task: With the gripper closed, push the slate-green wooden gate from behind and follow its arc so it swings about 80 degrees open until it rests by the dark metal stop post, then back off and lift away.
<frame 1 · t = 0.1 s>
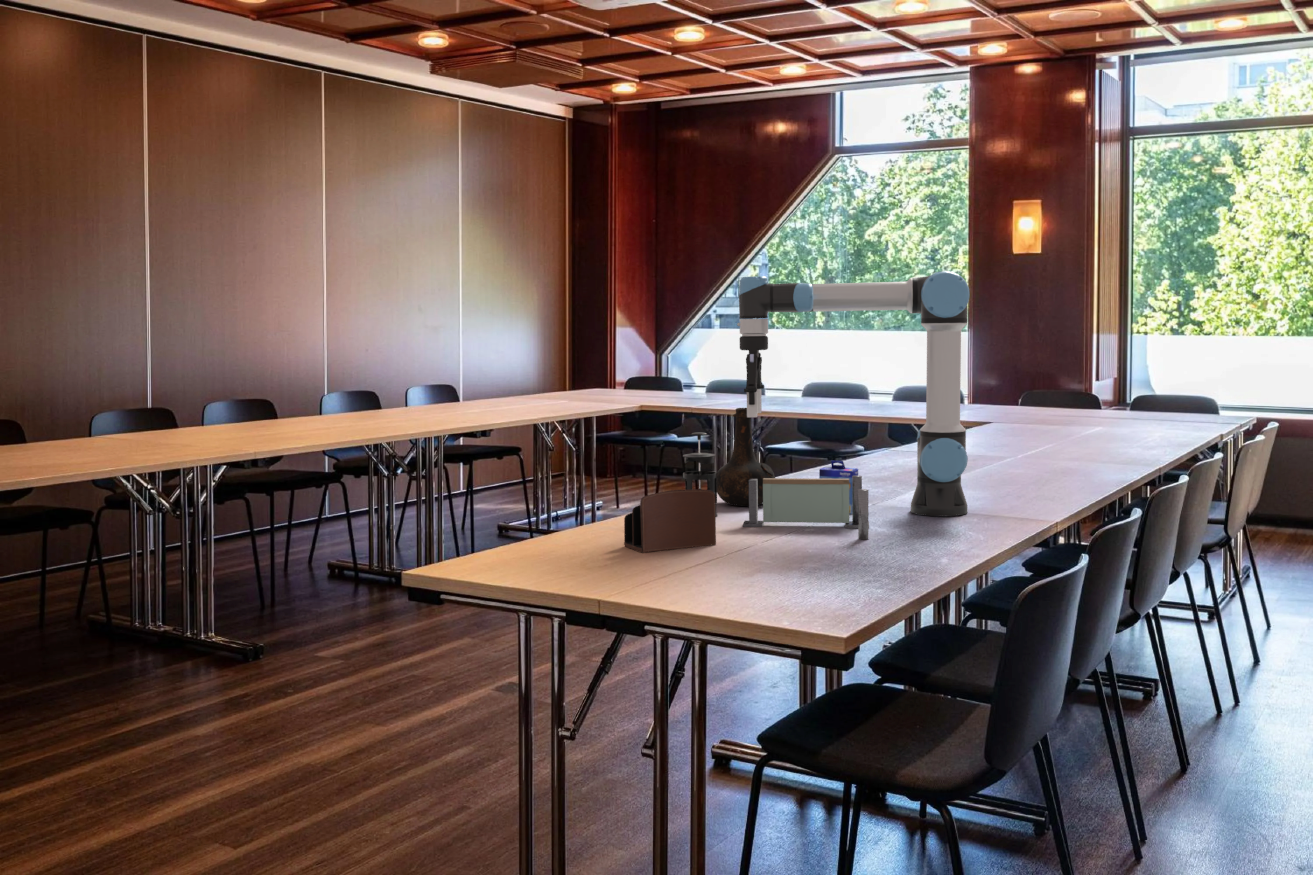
hand: (754, 415, 330), 28 cm above the table, fingers open, 13 cm apart
dark brown vase: (745, 505, 358), on the table
ink cartridge box: (838, 512, 341), on the table
gate: (806, 500, 319), point 7 cm above the table, hinge at 0.0°
letter holder: (670, 547, 295), on the table
french press: (701, 516, 338), on the table
gate frame: (857, 526, 318), on the table
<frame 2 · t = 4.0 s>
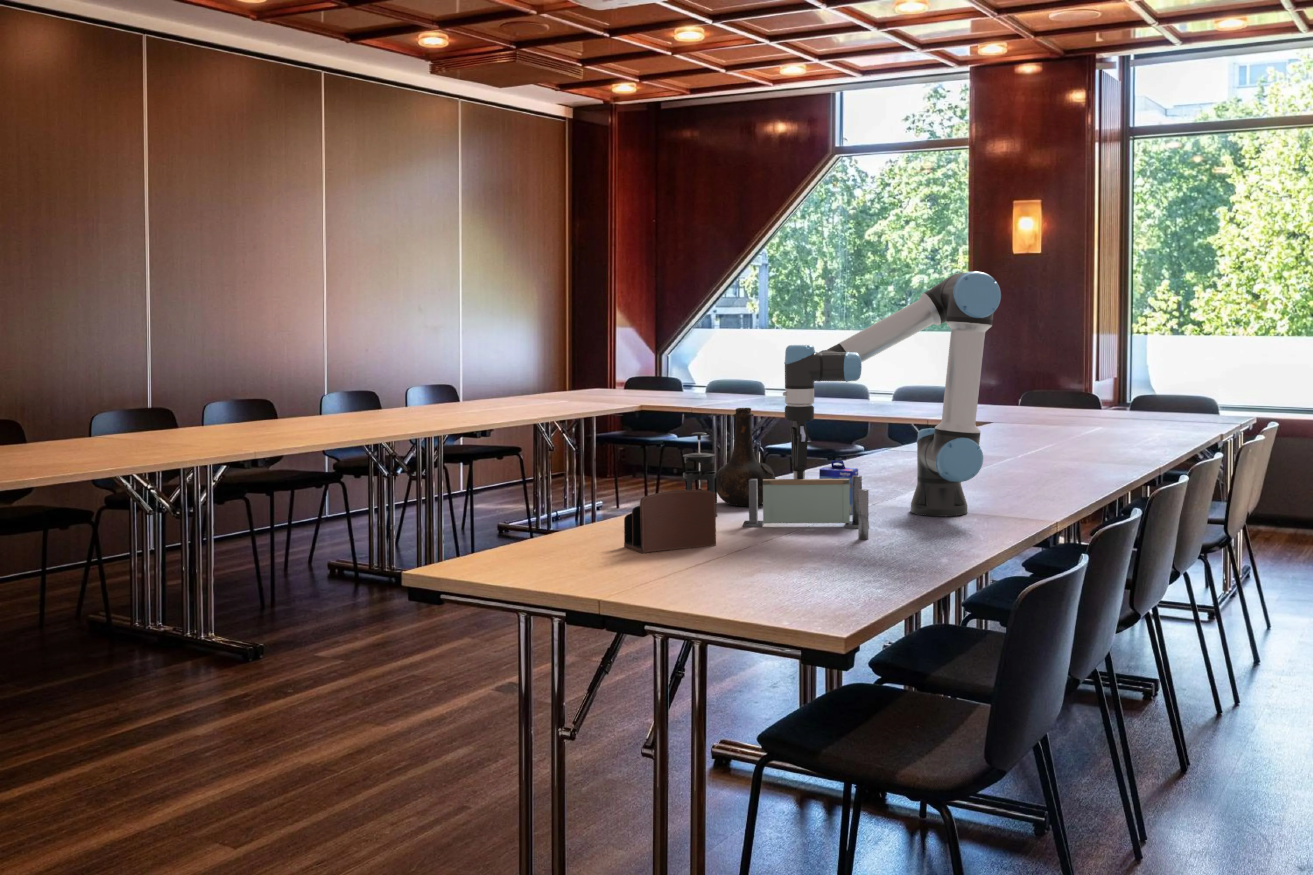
hand: (799, 495, 322), 8 cm above the table, fingers closed
gate: (806, 501, 318), point 7 cm above the table, hinge at 4.6°, touching gripper
everything else where it was.
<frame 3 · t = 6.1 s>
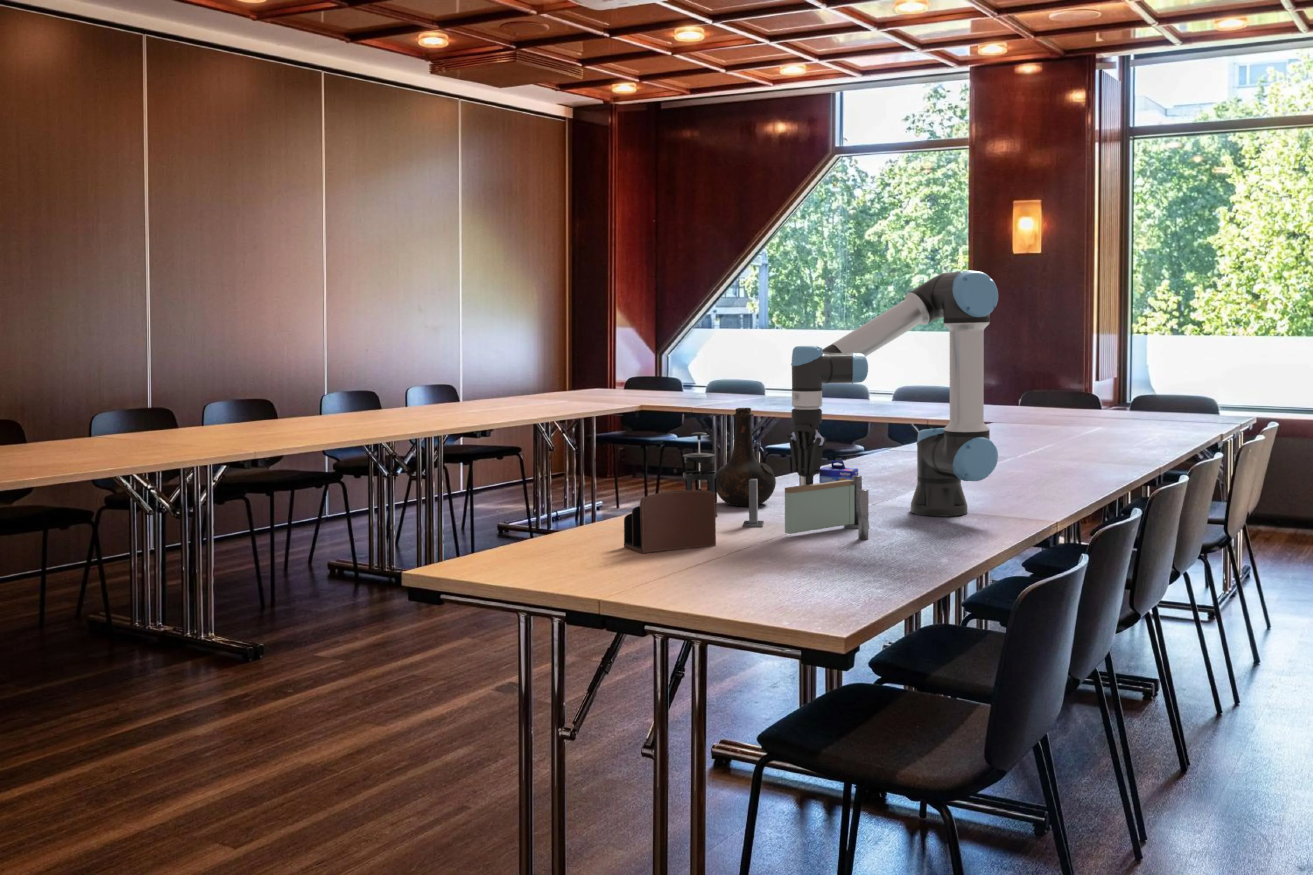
hand: (806, 501, 311), 8 cm above the table, fingers closed
gate: (820, 506, 309), point 7 cm above the table, hinge at 45.7°, touching gripper
everything else where it was.
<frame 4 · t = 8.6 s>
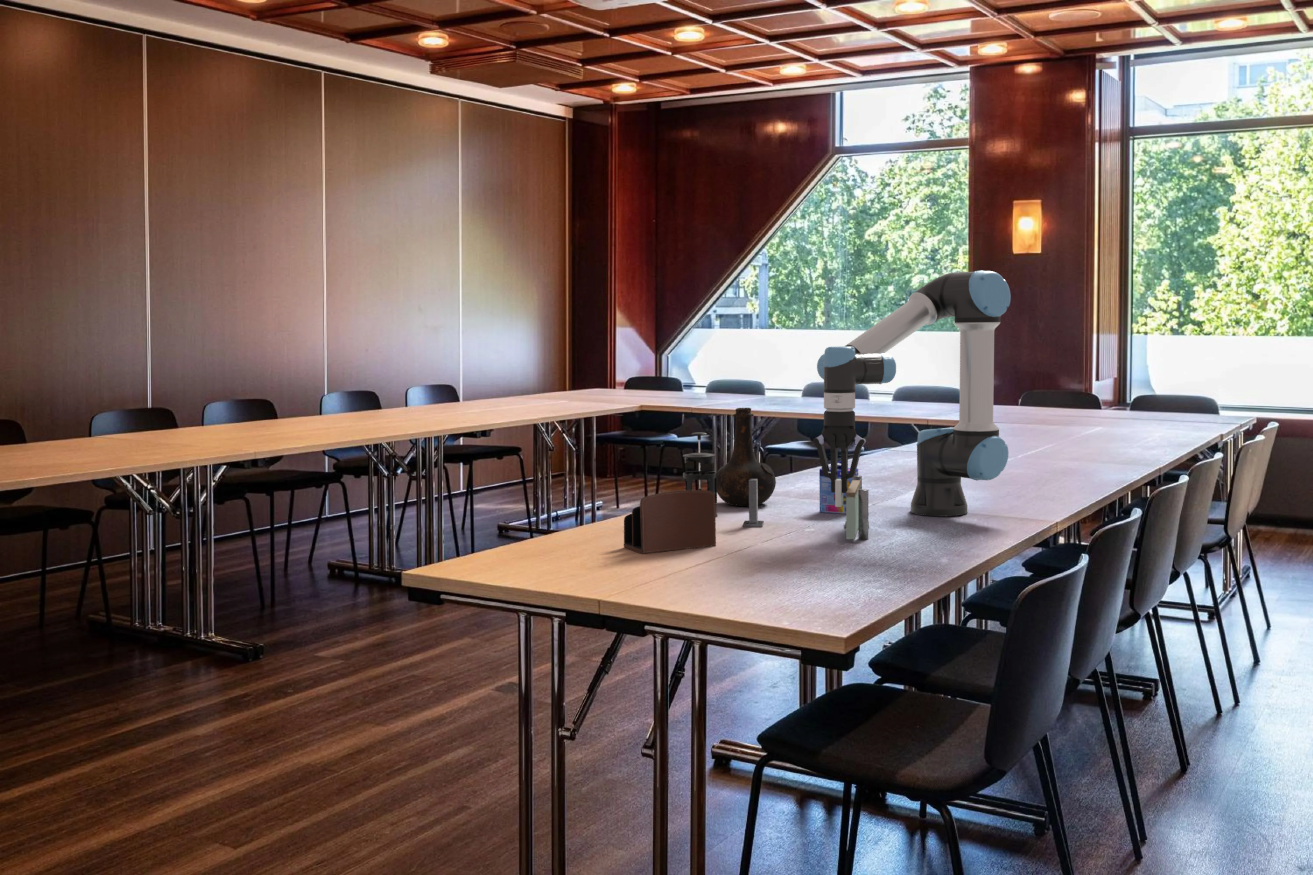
hand: (839, 505, 304), 8 cm above the table, fingers closed
gate: (853, 508, 304), point 7 cm above the table, hinge at 86.3°, touching gripper
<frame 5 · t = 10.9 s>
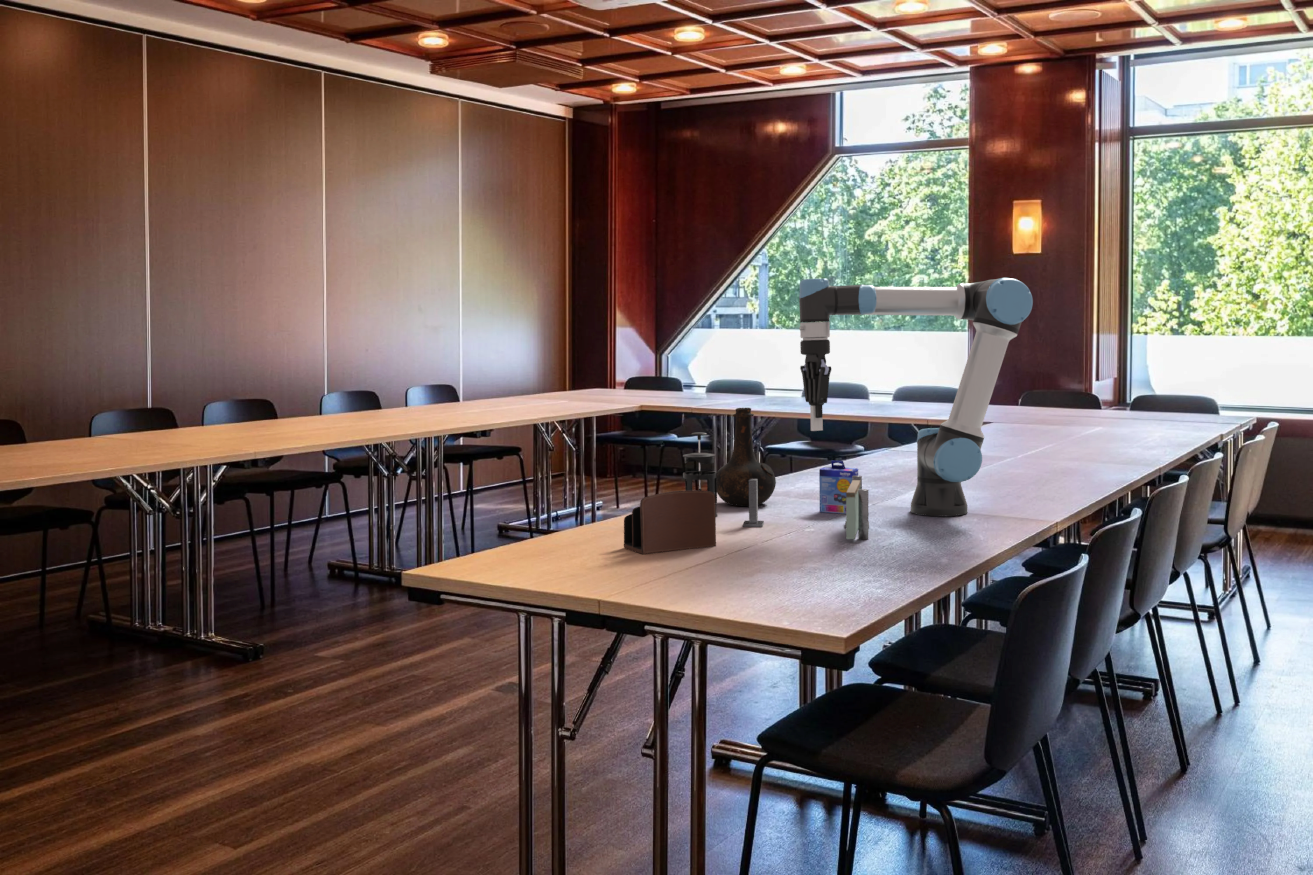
hand: (816, 430, 321), 24 cm above the table, fingers closed
gate: (853, 508, 304), point 7 cm above the table, hinge at 86.3°
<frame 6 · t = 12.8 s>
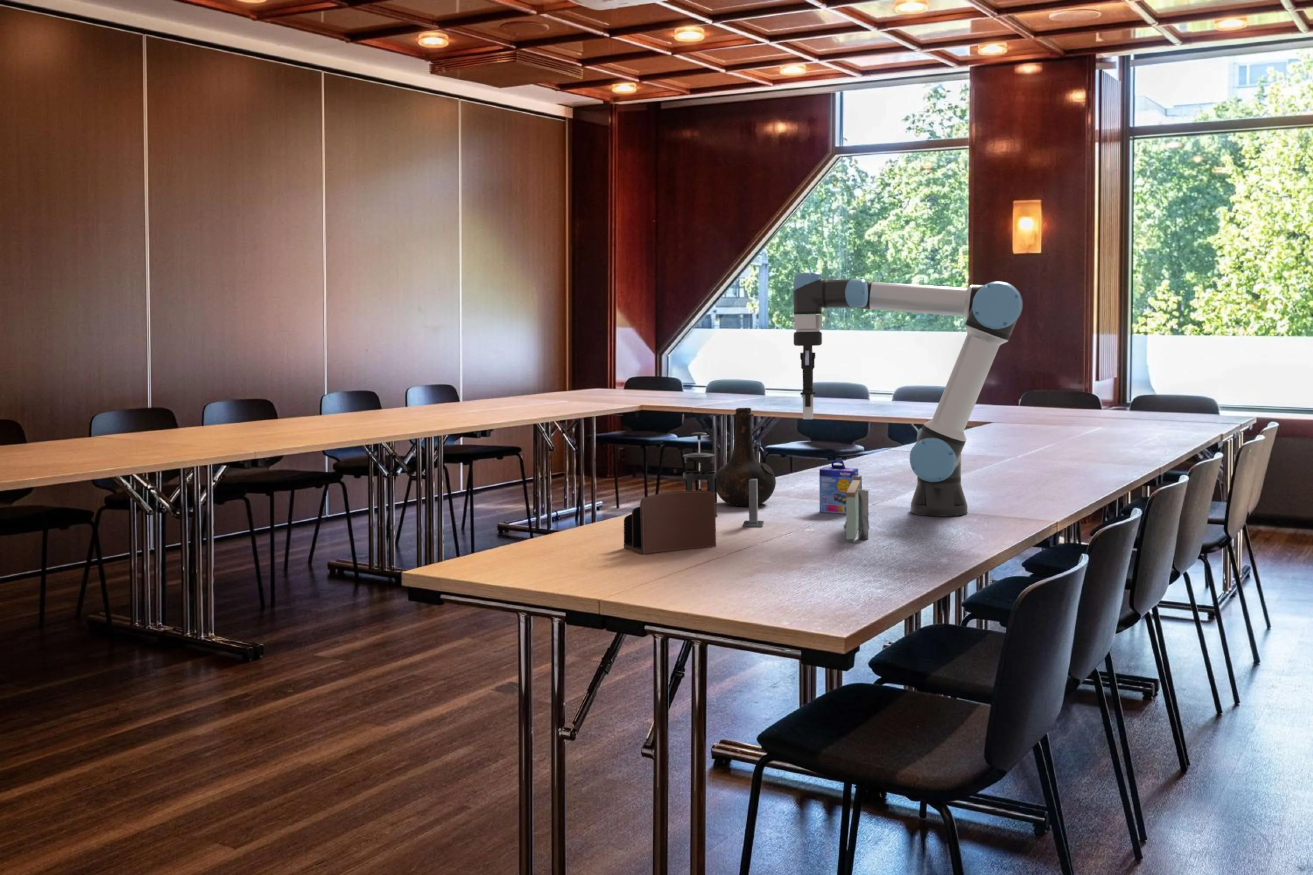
hand: (808, 418, 333), 26 cm above the table, fingers closed
at the end: gate at +86° (first picture: +0°) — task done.
